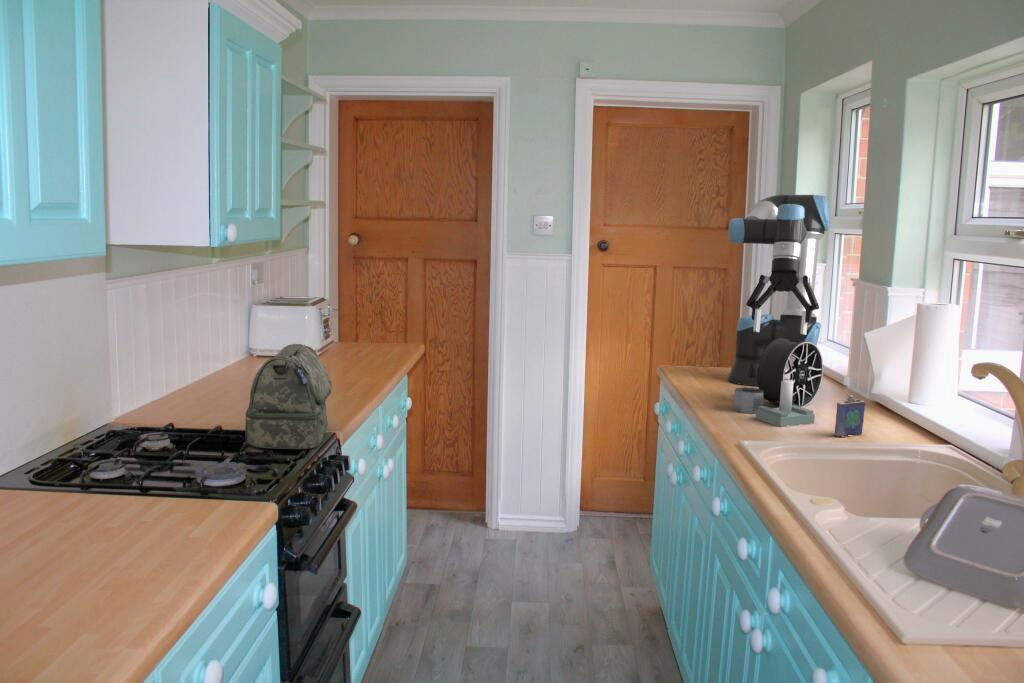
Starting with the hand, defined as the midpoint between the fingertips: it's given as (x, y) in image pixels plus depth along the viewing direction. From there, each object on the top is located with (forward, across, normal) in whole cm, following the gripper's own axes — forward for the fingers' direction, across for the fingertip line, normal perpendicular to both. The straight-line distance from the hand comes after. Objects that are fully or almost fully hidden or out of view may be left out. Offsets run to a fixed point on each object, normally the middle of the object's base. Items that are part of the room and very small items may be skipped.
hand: (779, 333), depth 240 cm
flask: (+26, +23, -5) cm, 35 cm away
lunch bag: (+41, -78, -104) cm, 137 cm away
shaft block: (+24, +4, -2) cm, 25 cm away
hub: (+23, -8, +4) cm, 25 cm away
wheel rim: (+20, -3, +20) cm, 28 cm away
